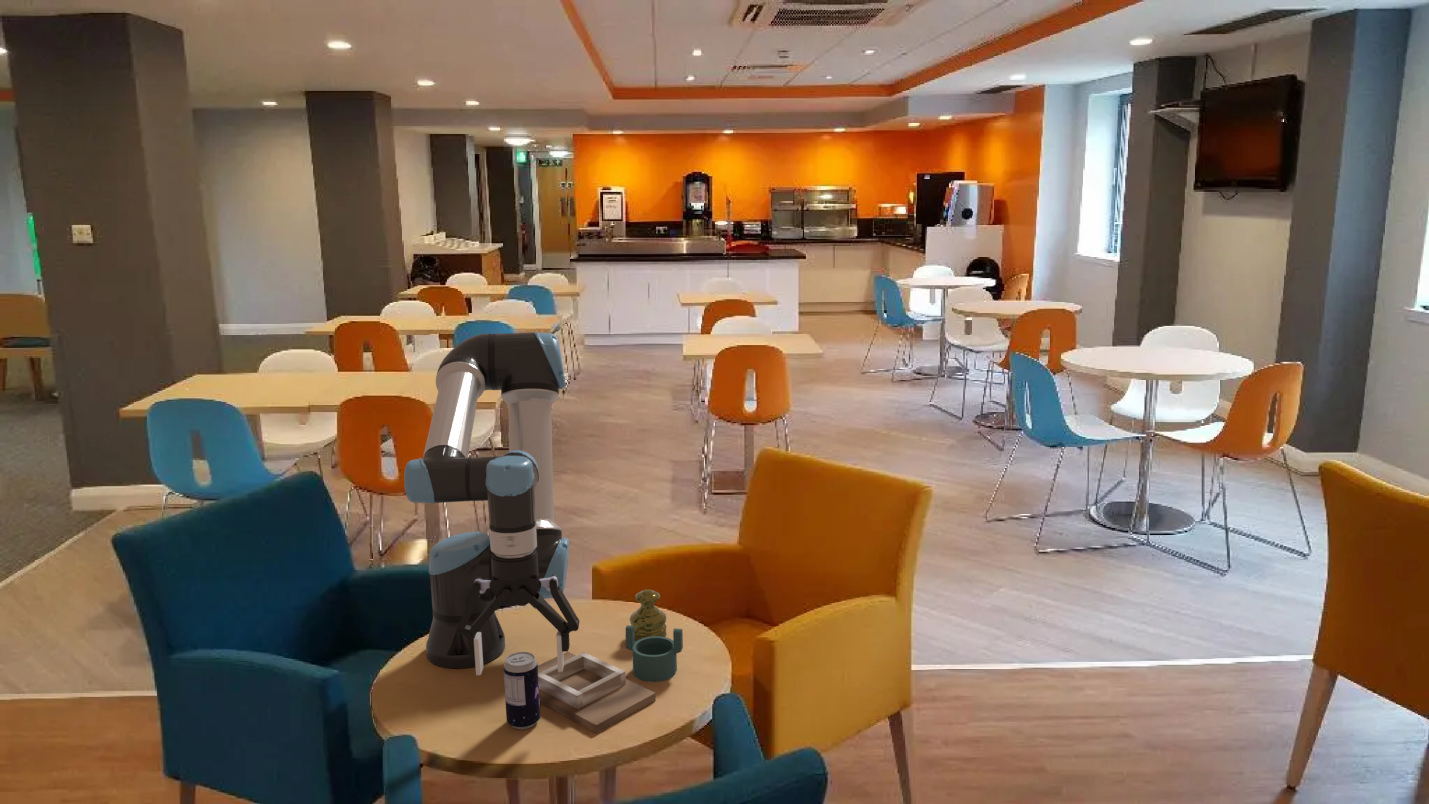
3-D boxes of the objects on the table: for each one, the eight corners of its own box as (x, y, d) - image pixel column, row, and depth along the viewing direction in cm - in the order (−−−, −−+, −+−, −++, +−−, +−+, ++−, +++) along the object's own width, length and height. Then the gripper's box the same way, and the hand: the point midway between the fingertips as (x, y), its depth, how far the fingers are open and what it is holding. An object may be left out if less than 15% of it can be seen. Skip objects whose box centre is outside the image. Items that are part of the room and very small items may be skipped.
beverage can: (542, 728, 164) (539, 663, 162) (508, 734, 163) (504, 668, 160) (538, 711, 170) (535, 648, 167) (505, 716, 168) (501, 653, 165)
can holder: (509, 686, 178) (508, 666, 177) (568, 658, 189) (567, 639, 188) (596, 733, 163) (596, 711, 162) (655, 700, 173) (655, 680, 172)
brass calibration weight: (674, 635, 198) (673, 589, 196) (648, 648, 193) (647, 601, 190) (648, 625, 203) (647, 580, 201) (622, 637, 197) (621, 591, 195)
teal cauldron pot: (686, 674, 182) (686, 630, 181) (642, 686, 178) (641, 641, 176) (664, 655, 190) (663, 612, 188) (622, 666, 185) (620, 623, 184)
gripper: (431, 561, 155) (440, 683, 159) (588, 556, 156) (593, 677, 161) (442, 545, 162) (450, 662, 167) (591, 540, 164) (596, 657, 168)
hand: (520, 670), depth 164 cm, fingers open, 13 cm apart
